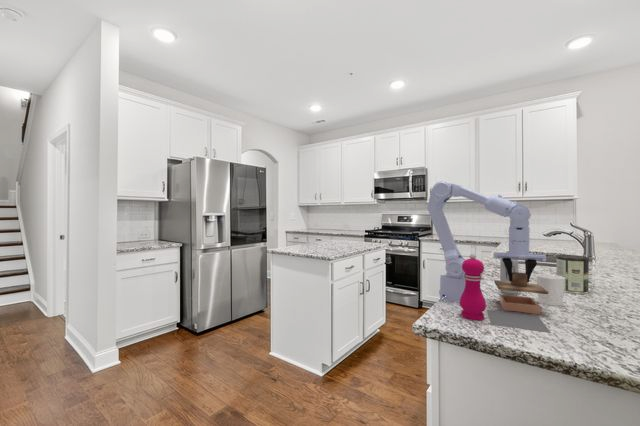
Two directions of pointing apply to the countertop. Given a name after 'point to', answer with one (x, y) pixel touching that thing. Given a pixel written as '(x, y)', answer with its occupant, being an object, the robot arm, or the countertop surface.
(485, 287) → the countertop surface
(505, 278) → the energy drink can
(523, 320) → the mat
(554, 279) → the white cup
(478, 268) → the pepper mill
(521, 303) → the dish
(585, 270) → the coffee can
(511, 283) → the lid
